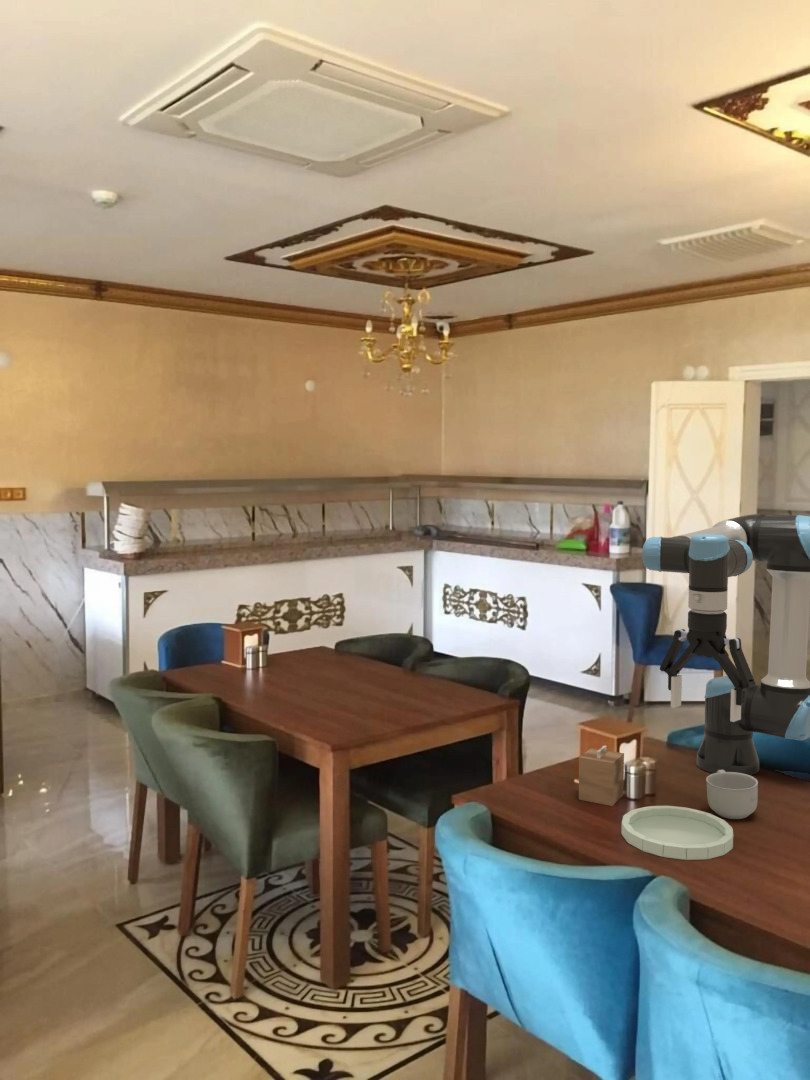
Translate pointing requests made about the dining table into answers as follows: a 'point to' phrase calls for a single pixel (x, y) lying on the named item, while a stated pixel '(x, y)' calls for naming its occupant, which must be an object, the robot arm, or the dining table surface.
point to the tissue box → (601, 776)
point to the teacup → (732, 794)
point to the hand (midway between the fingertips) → (704, 713)
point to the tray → (677, 832)
